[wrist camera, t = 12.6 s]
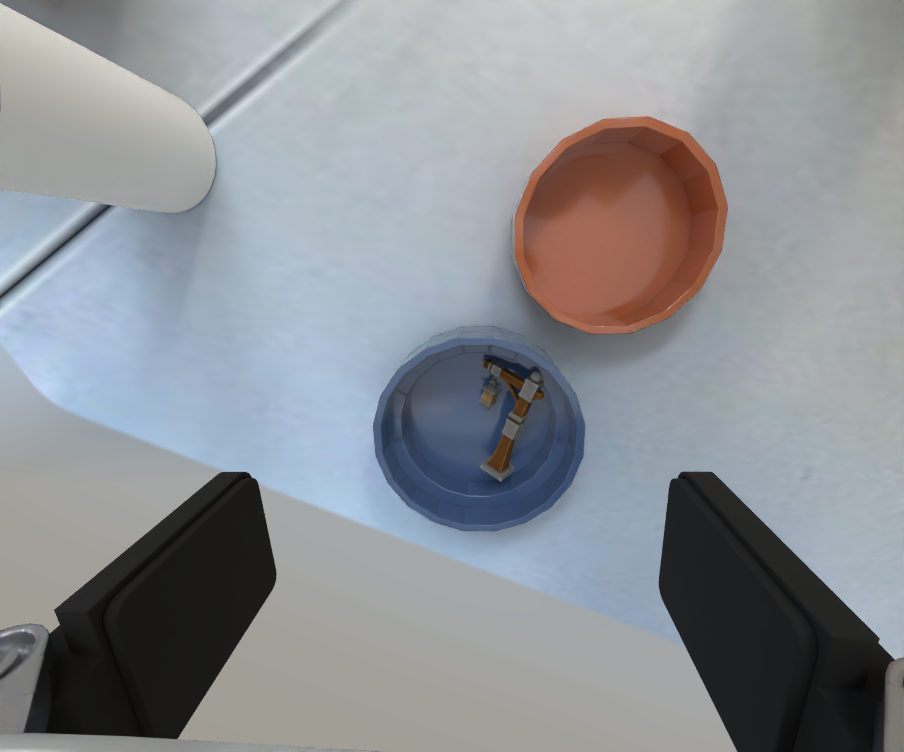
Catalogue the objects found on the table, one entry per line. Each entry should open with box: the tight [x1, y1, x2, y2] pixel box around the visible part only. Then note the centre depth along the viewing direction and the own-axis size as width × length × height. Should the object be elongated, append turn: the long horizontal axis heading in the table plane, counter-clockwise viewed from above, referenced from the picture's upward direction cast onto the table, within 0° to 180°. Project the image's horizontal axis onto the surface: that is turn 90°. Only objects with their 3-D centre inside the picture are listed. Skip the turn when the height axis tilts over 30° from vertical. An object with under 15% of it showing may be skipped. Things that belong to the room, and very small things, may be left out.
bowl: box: [373, 326, 585, 531], centre depth 28 cm, size 13×13×4 cm
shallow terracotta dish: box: [511, 116, 728, 334], centre depth 25 cm, size 11×11×3 cm
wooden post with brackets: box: [479, 358, 544, 482], centre depth 28 cm, size 2×8×4 cm
